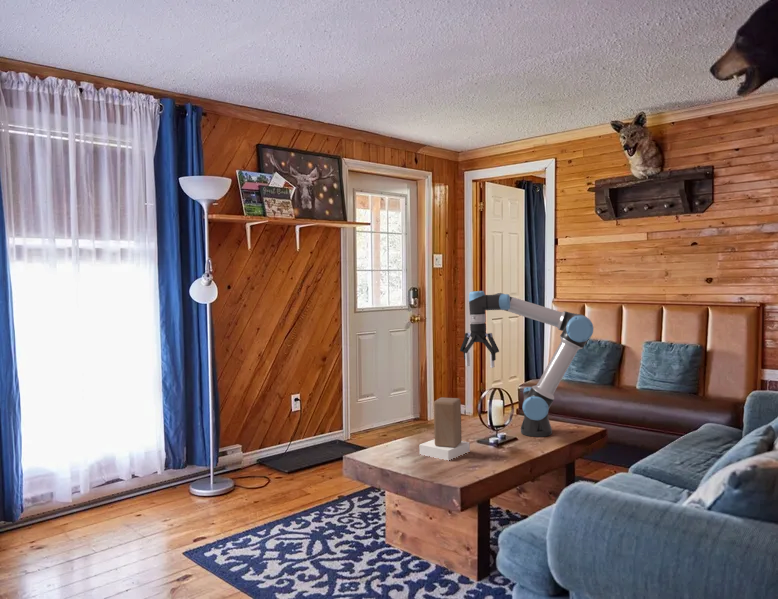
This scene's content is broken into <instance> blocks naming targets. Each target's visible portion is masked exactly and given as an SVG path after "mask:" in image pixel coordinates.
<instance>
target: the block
mask: <svg viewBox="0 0 778 599" xmlns="http://www.w3.org/2000/svg"><path fill="white" fill-rule="evenodd" d="M433 430H434V433H433V434H434V435H433V436H434V439H435V445H436V446H444V447H456V446H457V445H458V444H459V443H461V441H463V438H462V437H463V436H462V401H461V398H457V397H443V396H442V397H439V398H437V399H436V400H434V401H433Z"/></svg>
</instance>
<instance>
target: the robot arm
mask: <svg viewBox="0 0 778 599" xmlns="http://www.w3.org/2000/svg"><path fill="white" fill-rule="evenodd" d="M468 308H469V322H470V324H469V326H470V327H469V328H470V332H465V334H464V338H463V341H462V344H461V346H460V349H459V351H460V352H462V353H463V359H464V360H465V367H470V366H471V360H470V352H469V351H470V350H471V348H472V347H473V345H474V344H475V343H482V344H483V345H484V346H485V347H486V348H487V350H488V351H489V352H490V354H489V364H490V366H489V367H490V369H493V368H495V361H496V359H497V358H496V357H497V356H496V354H497V353H500V349H499V347H498V346H497V344H496V341H495V340H494V339H495V338H494V337H493V333H492V332H488V333H487V324H486V321H487V320H486V317H487V316H486V311H506V312H509V313H512V314H515V315H518V316H522V317H524V318H527V319H530V320H534V321H536V322H537V321H538V322H540V323H543V324H546V325H549V326H553V327H555V328H557V329H558V330H559V331H561V334H560V336H559V338H560V342H559V344H558V346H557V347H556V349H555V352H554V353H553V355H552V357H551V358H550V361H549V362H548V364H547V366H546V367H545V369H544V372H543V373H542V375H541V376H540V378H539V380H538V382H537V383H536V385H532V386H526V387H524V388H523V402H522V411H523V420H522V424H521V426H520V434H522V435H524V436H526V437H537V438H539V437H543V438H544V437H548V436H551V435H552V434H553V429H552V425H551V421H550V420H549V409H550V407H551V406H552V404H553V403H554V400H555V396H554V393H555V392H556V390H557V388H558V387H559V385H560V383H561V381H562V380H563V377H564V376H565V374H566V372H567V370H568V369H569V367H570V365H571V363H572V362H573V360H574V358H575V356H576V355H577V353H578V351H579V350H582V349H584V348H585V346H586V344H587V342H588V340H589V339H590V338H591V337H592V336H593V334H594V324H593V322H592V321H591V319H590V318H588V317H587V316H586V315H584V314H581V313H574V312H569V311H566V310H565V311H562V312H561V311H558V310H556V309H553V308H549V307H545V306H543V305H539V304H536V303H533V302H530V301H526V300H523V299H520V298H516V297H513V296H510V294H508V293H501V292H497V293H495V294H485V291H484V290H477V291H474V290H472V291H470V292H469V294H468ZM470 338H471V339H470Z"/></svg>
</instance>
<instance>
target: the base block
mask: <svg viewBox="0 0 778 599" xmlns="http://www.w3.org/2000/svg"><path fill="white" fill-rule="evenodd" d="M470 443H471V442H468V441H463V440H462V441H461V443H459V444H458V445H457V446H456V447H444V446H436V445H435V438H434V439H430V440H429V441H425V442H423V443H420V444H419V445H418V446H419V447H418V449H419V455H420V454H421V455H420V456H424V455H425V456H426V457H429V456H430V458H433V457H434V458H435V459H437V458H439V459H438V460H442V459H444V460H443V461H446V460H448V461H447V462H450V461H452V460H454V459H453V458H455V459H457V458H459V457H458V456H460V455H462V456H464V455H463V454H465V453H467V452H471V451H470V450H471V449H470V446H471V445H470ZM467 454H468V453H467ZM465 455H466V454H465ZM456 457H457V458H456ZM460 457H461V456H460ZM451 459H452V460H451ZM449 460H450V461H449Z"/></svg>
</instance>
